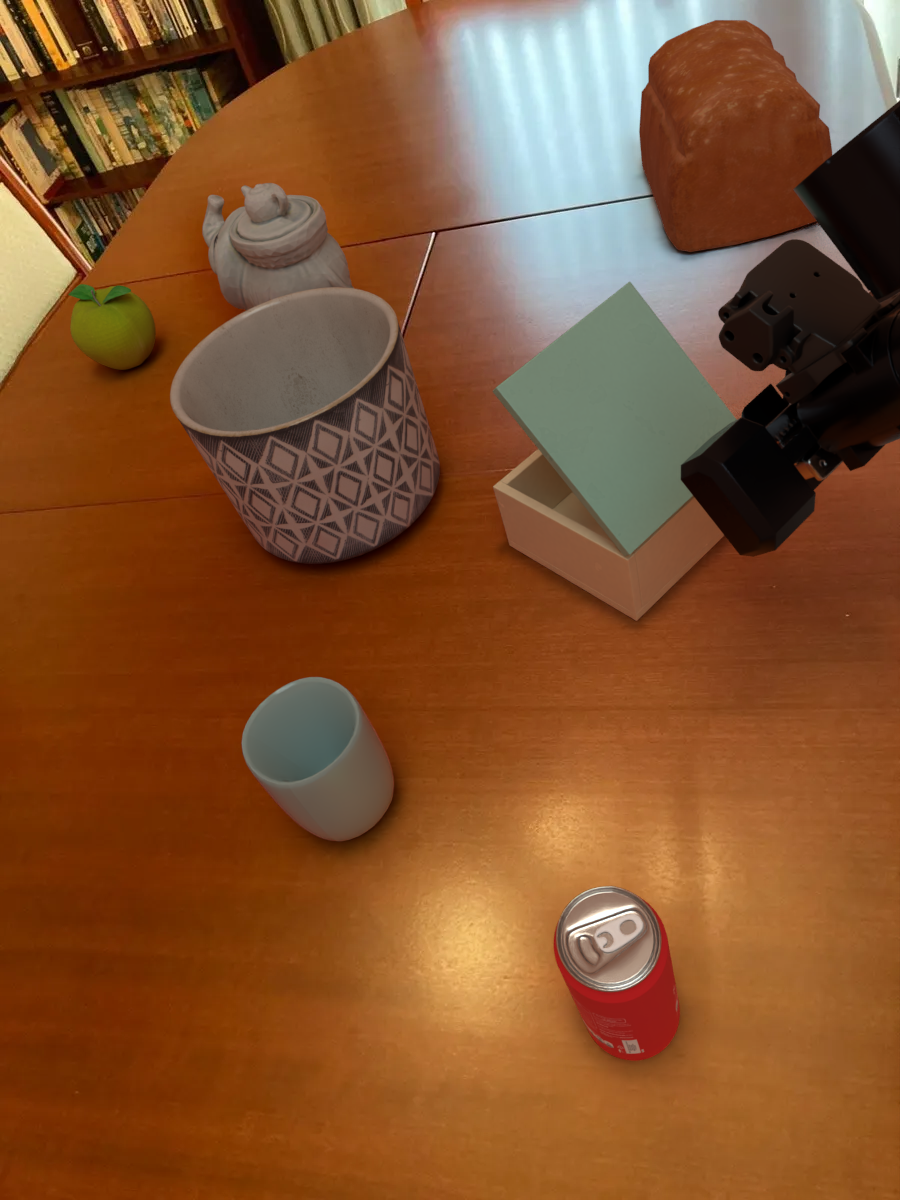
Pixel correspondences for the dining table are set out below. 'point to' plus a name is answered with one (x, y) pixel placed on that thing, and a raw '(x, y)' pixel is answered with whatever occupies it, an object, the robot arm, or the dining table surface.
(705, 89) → the bread
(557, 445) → the lid
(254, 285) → the teapot
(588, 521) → the cream square box
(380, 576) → the dining table surface
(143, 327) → the fruit
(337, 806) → the cup
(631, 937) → the beverage can
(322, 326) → the planter
